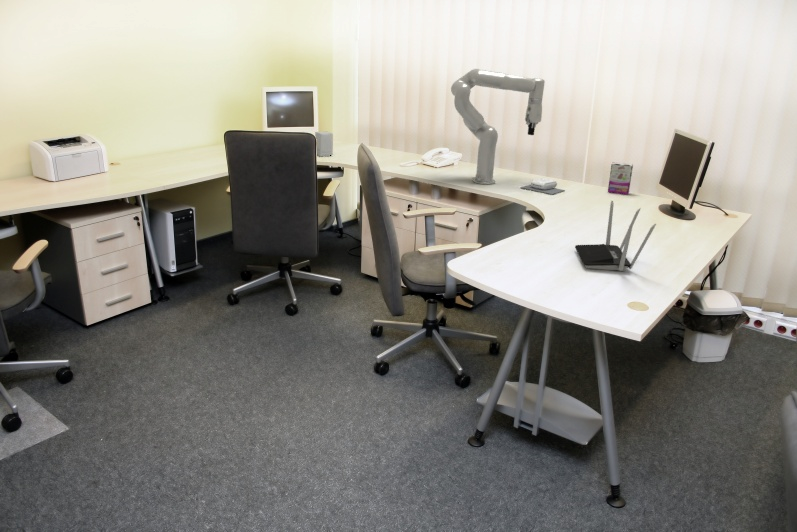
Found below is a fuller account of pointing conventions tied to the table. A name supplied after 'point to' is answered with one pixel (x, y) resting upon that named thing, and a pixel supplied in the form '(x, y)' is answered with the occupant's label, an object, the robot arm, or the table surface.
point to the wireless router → (610, 250)
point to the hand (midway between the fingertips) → (530, 134)
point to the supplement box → (324, 143)
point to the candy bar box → (620, 178)
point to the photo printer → (543, 183)
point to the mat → (547, 191)
